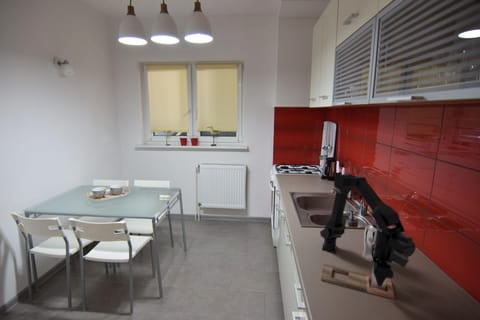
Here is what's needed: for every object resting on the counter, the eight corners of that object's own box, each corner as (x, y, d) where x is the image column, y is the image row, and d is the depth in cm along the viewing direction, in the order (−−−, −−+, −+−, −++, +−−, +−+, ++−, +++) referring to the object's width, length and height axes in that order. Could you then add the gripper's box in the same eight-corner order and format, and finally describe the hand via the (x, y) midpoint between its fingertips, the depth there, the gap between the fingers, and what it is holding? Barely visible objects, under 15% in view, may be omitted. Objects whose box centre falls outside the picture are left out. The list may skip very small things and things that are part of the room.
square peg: (370, 281, 108) (373, 264, 106) (383, 284, 106) (386, 266, 104) (371, 288, 103) (374, 270, 102) (384, 292, 102) (387, 273, 100)
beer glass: (358, 257, 125) (362, 227, 121) (365, 252, 129) (369, 223, 126) (373, 264, 119) (377, 233, 116) (380, 258, 124) (384, 228, 121)
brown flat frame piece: (323, 266, 117) (323, 264, 117) (390, 282, 107) (391, 279, 107) (320, 279, 108) (321, 277, 108) (393, 298, 98) (394, 296, 98)
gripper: (413, 260, 89) (406, 301, 92) (404, 235, 106) (398, 270, 109) (376, 253, 93) (371, 291, 97) (373, 230, 110) (368, 264, 113)
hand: (378, 278), depth 104 cm, fingers open, 9 cm apart
